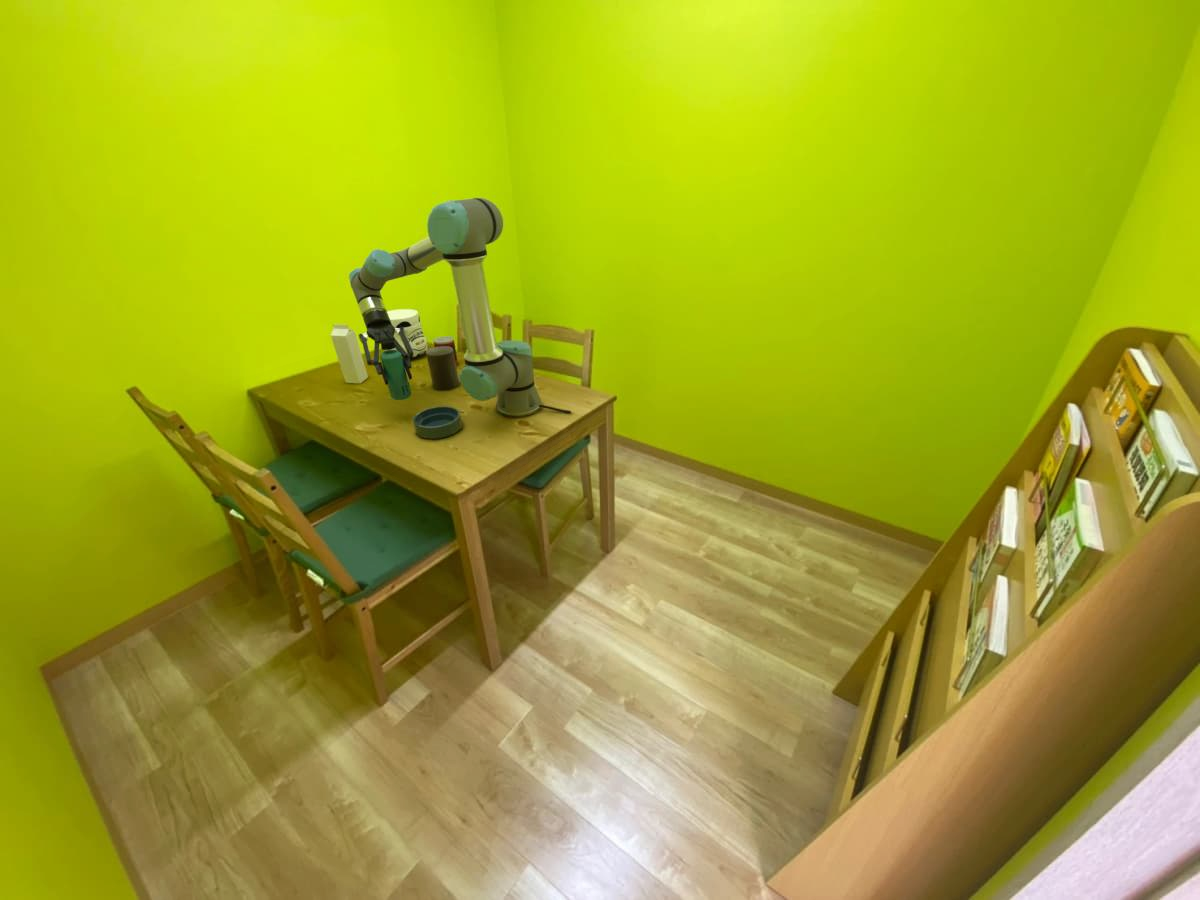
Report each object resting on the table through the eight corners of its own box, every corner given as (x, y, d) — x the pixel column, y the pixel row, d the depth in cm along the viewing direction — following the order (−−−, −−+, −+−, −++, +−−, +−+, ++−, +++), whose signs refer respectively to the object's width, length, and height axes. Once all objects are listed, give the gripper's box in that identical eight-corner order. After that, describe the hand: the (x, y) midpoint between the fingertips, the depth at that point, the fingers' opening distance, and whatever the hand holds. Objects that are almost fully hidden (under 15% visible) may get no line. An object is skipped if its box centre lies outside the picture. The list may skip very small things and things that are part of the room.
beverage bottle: (406, 405, 152) (391, 345, 142) (387, 403, 154) (371, 344, 143) (416, 396, 158) (402, 338, 147) (398, 395, 159) (383, 336, 148)
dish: (466, 417, 159) (464, 405, 156) (456, 439, 147) (454, 427, 144) (423, 418, 159) (420, 406, 156) (410, 440, 147) (407, 428, 144)
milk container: (428, 360, 202) (419, 318, 193) (385, 364, 199) (373, 322, 189) (430, 346, 217) (422, 307, 207) (390, 350, 213) (380, 310, 204)
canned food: (440, 362, 201) (435, 336, 195) (459, 361, 202) (454, 335, 196) (436, 369, 195) (431, 343, 189) (456, 368, 195) (452, 342, 189)
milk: (360, 383, 183) (343, 327, 171) (345, 383, 183) (327, 327, 171) (368, 377, 188) (352, 322, 176) (354, 376, 189) (337, 321, 177)
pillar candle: (449, 392, 176) (441, 353, 168) (427, 388, 179) (419, 349, 171) (464, 381, 184) (458, 344, 176) (443, 378, 187) (436, 341, 179)
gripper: (406, 316, 159) (429, 378, 156) (343, 326, 151) (366, 392, 148) (406, 304, 153) (430, 368, 150) (340, 314, 144) (364, 382, 141)
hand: (398, 380), depth 149 cm, fingers closed on beverage bottle, 6 cm apart
